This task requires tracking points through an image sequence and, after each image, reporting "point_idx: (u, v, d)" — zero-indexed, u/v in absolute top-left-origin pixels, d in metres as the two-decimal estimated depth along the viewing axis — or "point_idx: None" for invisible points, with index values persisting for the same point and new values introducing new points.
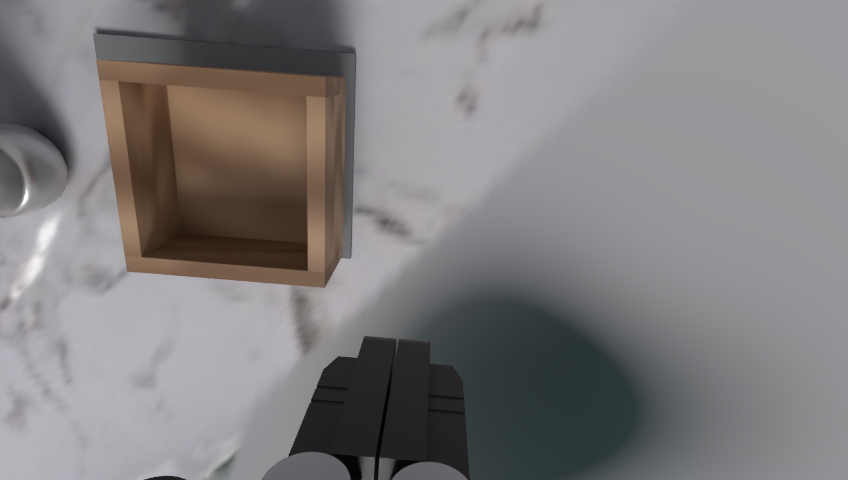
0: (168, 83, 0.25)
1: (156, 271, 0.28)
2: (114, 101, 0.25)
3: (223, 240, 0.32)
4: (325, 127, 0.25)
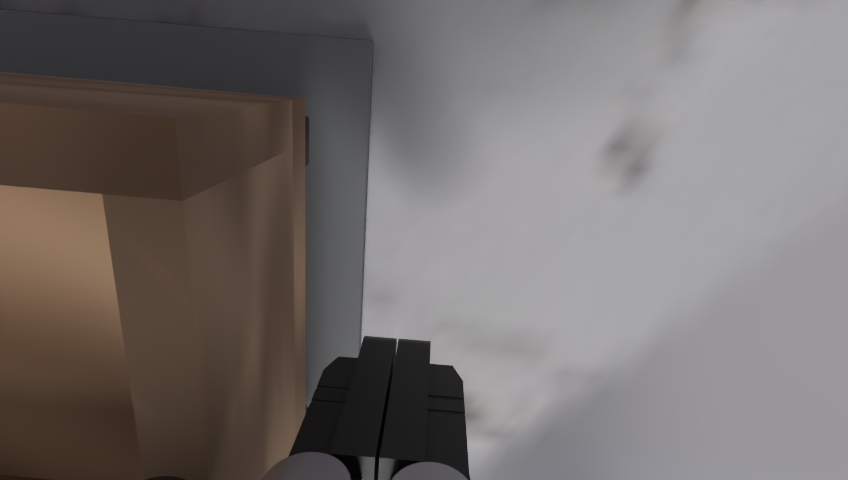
0: None
1: None
2: None
3: None
4: (195, 309, 0.06)
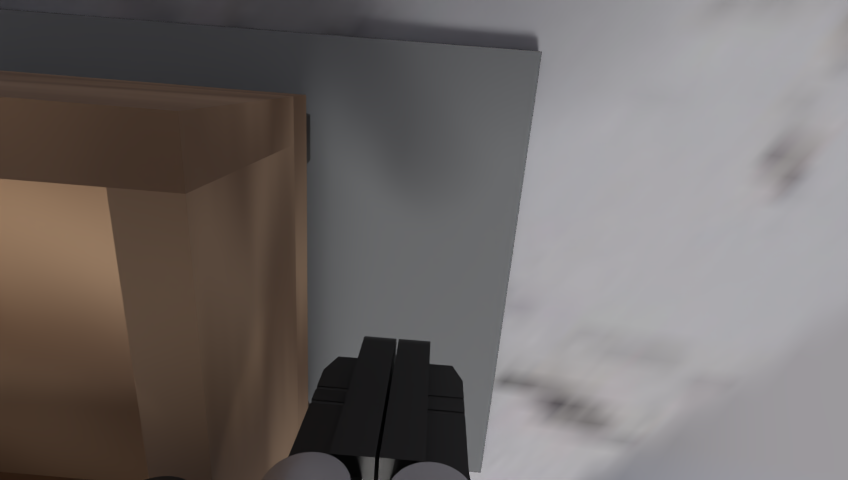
0: None
1: None
2: None
3: None
4: (199, 302, 0.07)
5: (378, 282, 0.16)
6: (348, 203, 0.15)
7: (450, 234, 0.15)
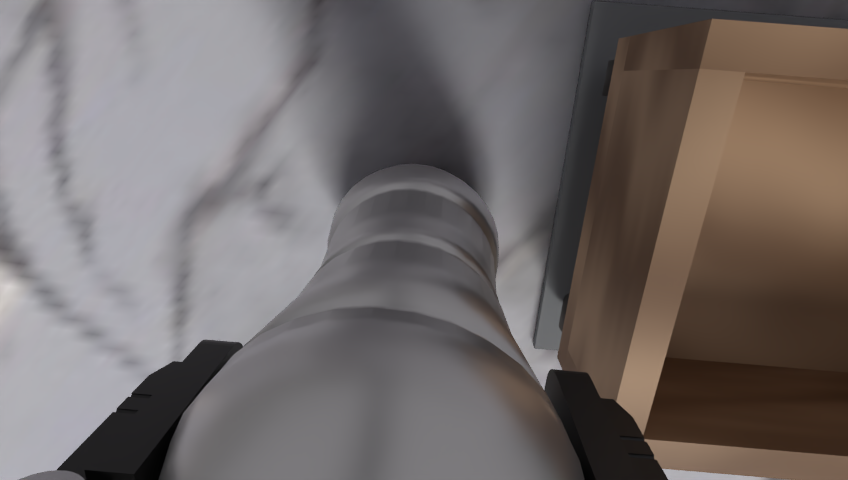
0: None
1: (662, 464, 0.14)
2: (715, 121, 0.11)
3: (688, 369, 0.17)
4: None
5: None
6: None
7: None
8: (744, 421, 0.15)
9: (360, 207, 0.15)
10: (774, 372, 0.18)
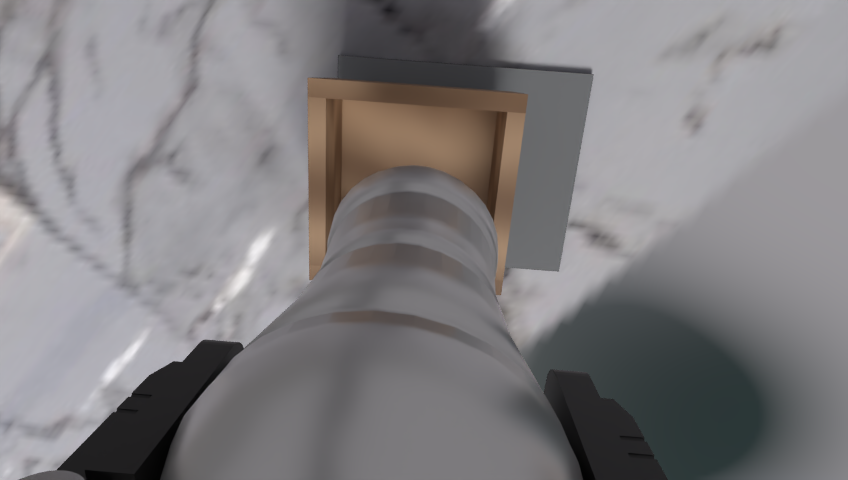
0: (374, 100, 0.26)
1: None
2: (319, 118, 0.26)
3: None
4: (521, 141, 0.26)
5: (518, 174, 0.36)
6: None
7: (552, 152, 0.35)
8: None
9: (360, 208, 0.15)
10: None
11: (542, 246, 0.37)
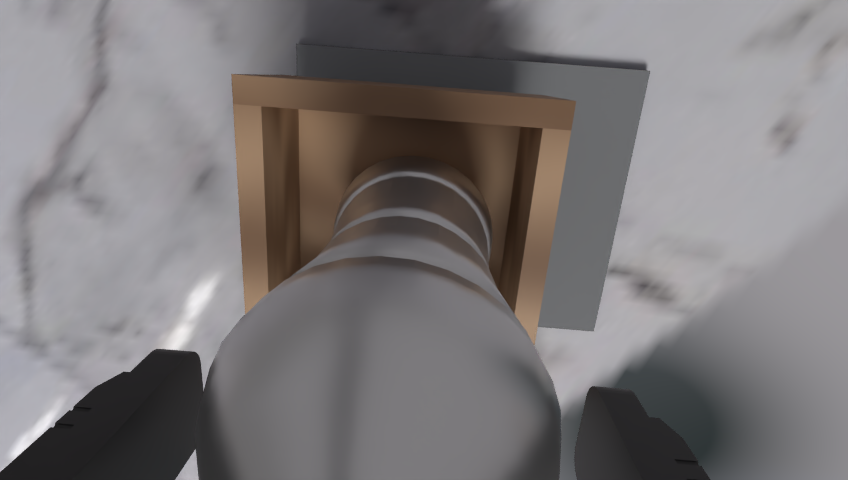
0: (336, 109, 0.17)
1: None
2: (252, 136, 0.17)
3: None
4: (562, 173, 0.17)
5: None
6: None
7: (589, 176, 0.26)
8: None
9: (364, 192, 0.17)
10: None
11: (572, 299, 0.28)
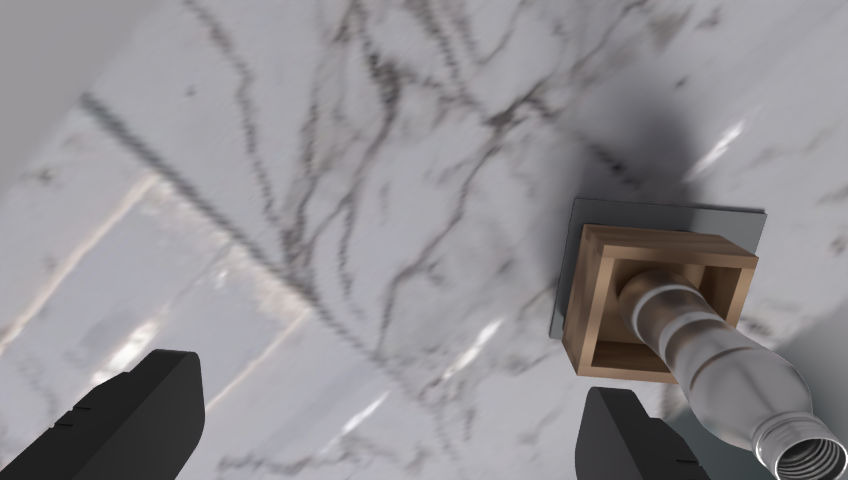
0: (649, 259, 0.37)
1: (598, 375, 0.41)
2: (607, 270, 0.38)
3: (613, 345, 0.44)
4: (748, 286, 0.38)
5: None
6: None
7: None
8: (628, 362, 0.42)
9: (661, 297, 0.37)
10: (647, 346, 0.44)
11: None
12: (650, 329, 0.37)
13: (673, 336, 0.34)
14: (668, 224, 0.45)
